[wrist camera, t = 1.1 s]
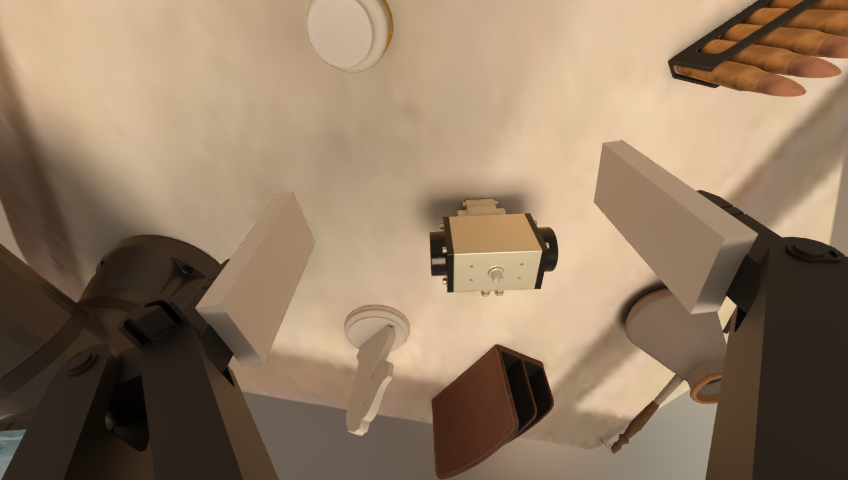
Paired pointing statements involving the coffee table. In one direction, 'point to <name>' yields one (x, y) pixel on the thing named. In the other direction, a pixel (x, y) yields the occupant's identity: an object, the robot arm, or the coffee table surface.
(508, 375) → the letter holder
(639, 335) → the coffee pot
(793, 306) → the robot arm
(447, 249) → the pneumatic valve
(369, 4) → the supplement bottle
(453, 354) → the coffee table surface
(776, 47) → the ammunition clip
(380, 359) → the chess piece
